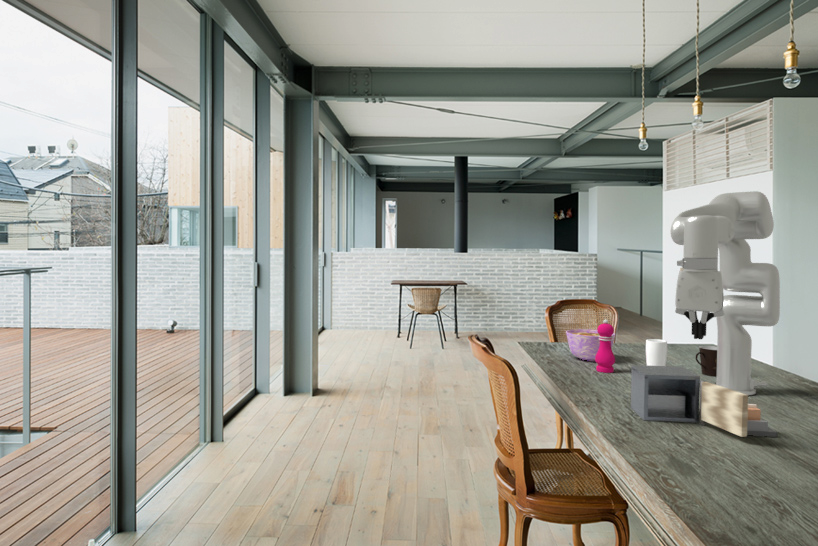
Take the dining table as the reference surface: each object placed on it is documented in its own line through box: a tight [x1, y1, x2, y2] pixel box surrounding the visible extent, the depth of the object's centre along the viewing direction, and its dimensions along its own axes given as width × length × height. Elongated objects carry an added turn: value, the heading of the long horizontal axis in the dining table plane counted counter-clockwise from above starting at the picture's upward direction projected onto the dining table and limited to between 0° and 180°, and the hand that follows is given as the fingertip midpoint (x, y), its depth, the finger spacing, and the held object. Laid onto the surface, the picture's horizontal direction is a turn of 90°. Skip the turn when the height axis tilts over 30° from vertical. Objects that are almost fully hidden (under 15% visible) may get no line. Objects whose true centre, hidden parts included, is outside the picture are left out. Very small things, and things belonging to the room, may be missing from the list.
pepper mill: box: [594, 318, 616, 374], centre depth 199 cm, size 7×7×20 cm
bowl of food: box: [565, 328, 616, 362], centre depth 221 cm, size 20×20×12 cm
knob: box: [747, 403, 762, 420], centre depth 132 cm, size 4×4×5 cm
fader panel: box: [747, 419, 778, 438], centre depth 137 cm, size 9×18×4 cm, turn 173°
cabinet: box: [630, 364, 701, 424], centre depth 145 cm, size 14×12×12 cm
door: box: [699, 380, 749, 438], centre depth 131 cm, size 14×2×12 cm, turn 11°
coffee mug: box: [695, 345, 717, 377], centre depth 194 cm, size 12×9×10 cm
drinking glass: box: [645, 338, 668, 366], centre depth 181 cm, size 7×7×15 cm
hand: (698, 338), depth 130 cm, fingers closed
